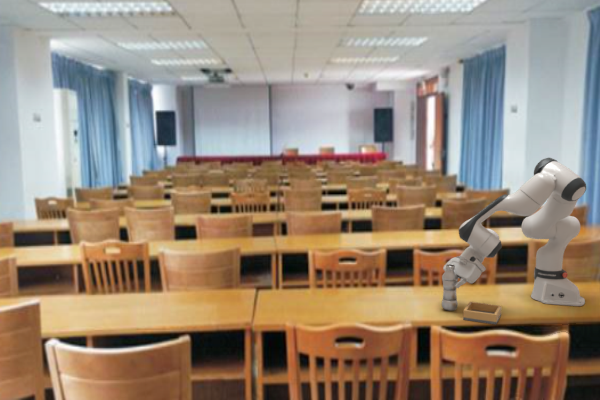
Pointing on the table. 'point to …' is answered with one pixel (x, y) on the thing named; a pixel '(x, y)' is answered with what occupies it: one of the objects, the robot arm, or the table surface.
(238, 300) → the table surface
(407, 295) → the table surface
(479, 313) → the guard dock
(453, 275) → the plastic bottle
